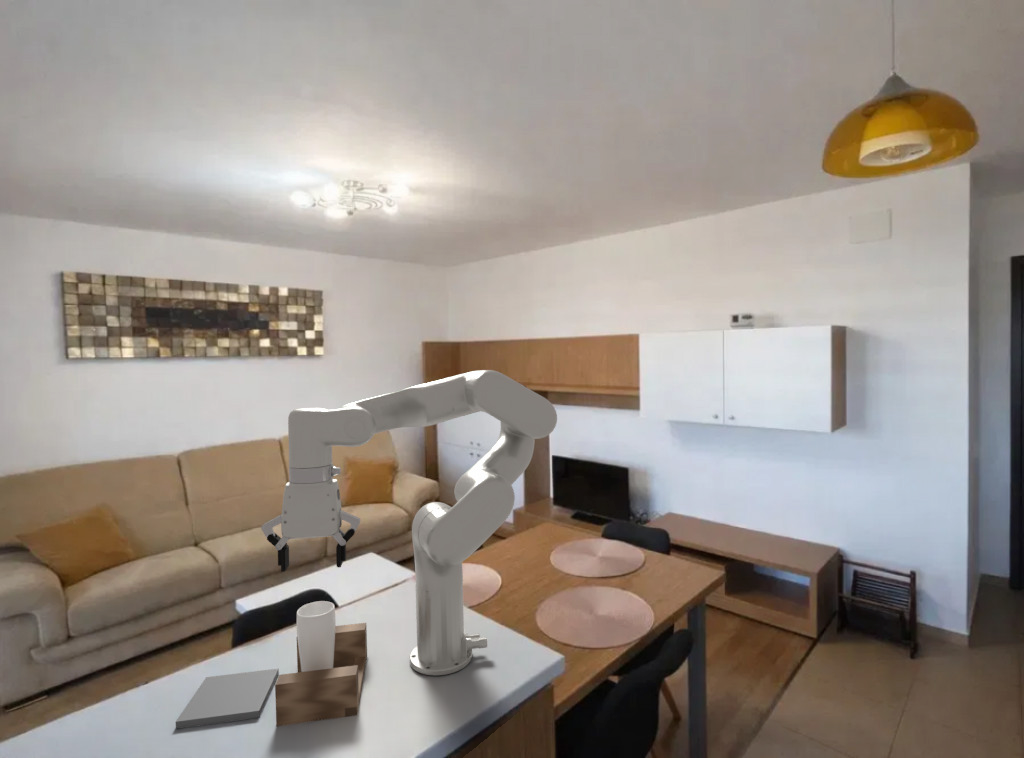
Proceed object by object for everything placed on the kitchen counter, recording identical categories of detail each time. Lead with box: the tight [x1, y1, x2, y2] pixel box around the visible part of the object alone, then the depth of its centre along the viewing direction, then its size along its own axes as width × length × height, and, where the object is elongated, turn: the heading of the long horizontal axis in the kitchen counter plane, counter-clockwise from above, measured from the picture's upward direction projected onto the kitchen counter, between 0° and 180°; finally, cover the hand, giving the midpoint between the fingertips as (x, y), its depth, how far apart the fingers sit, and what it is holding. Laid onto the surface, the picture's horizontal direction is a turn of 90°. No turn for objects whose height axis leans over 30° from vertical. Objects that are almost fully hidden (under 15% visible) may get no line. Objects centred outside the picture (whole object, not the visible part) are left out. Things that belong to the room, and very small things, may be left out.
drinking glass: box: [296, 600, 337, 672], centre depth 97 cm, size 7×7×15 cm
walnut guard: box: [274, 622, 368, 727], centre depth 98 cm, size 13×19×7 cm
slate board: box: [175, 668, 280, 729], centre depth 95 cm, size 13×13×1 cm
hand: (312, 566), depth 97 cm, fingers open, 9 cm apart
